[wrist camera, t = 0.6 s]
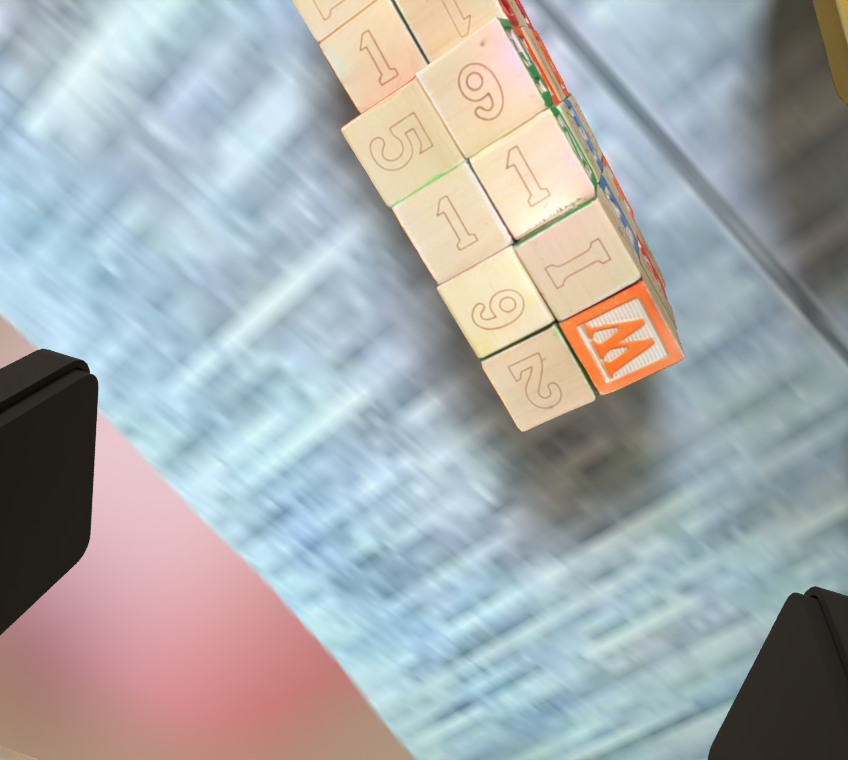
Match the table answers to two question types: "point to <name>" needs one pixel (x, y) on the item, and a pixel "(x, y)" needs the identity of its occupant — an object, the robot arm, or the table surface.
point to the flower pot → (835, 40)
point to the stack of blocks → (501, 196)
